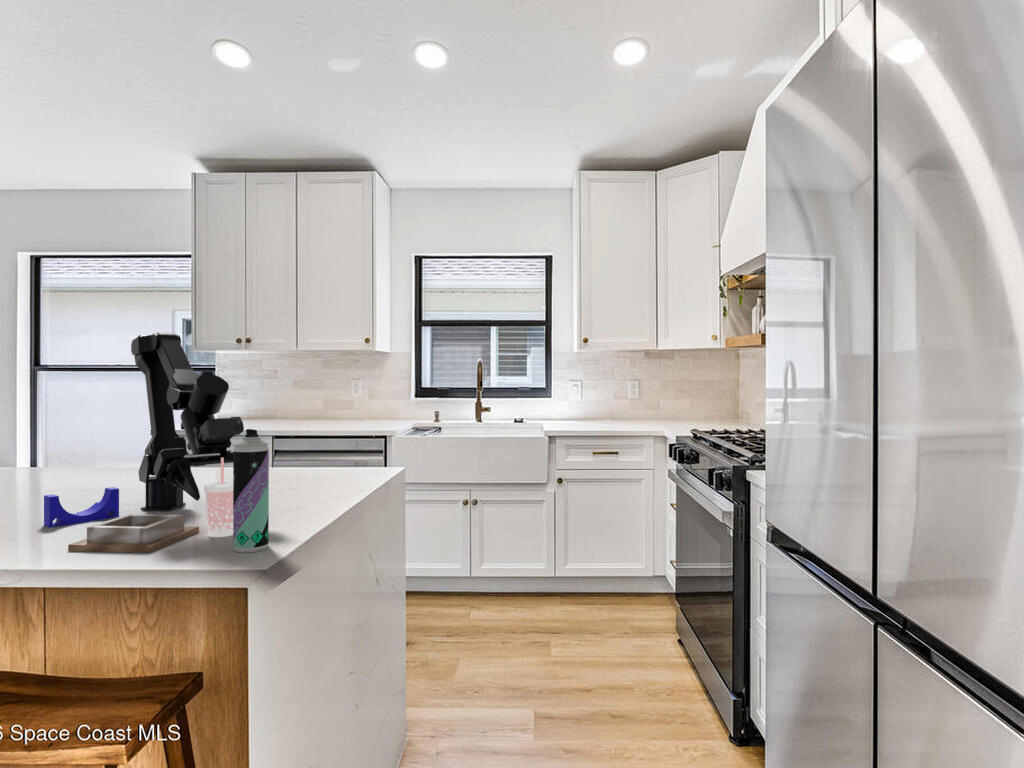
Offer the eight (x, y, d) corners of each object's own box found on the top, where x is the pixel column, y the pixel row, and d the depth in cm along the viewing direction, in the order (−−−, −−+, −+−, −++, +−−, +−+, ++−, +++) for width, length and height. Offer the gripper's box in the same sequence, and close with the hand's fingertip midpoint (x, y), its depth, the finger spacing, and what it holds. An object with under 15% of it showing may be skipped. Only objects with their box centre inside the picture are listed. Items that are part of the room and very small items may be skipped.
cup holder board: (68, 550, 102) (68, 529, 102) (126, 530, 116) (126, 511, 116) (149, 552, 101) (149, 531, 101) (199, 531, 115) (199, 513, 115)
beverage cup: (245, 534, 113) (245, 457, 113) (209, 540, 109) (210, 460, 109) (233, 528, 118) (233, 454, 118) (198, 533, 114) (199, 457, 113)
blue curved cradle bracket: (109, 514, 130) (110, 486, 130) (118, 517, 128) (119, 488, 128) (41, 525, 121) (41, 494, 121) (49, 528, 118) (49, 497, 118)
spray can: (225, 551, 102) (225, 429, 102) (248, 542, 107) (249, 427, 107) (253, 553, 100) (253, 430, 100) (275, 545, 106) (275, 428, 106)
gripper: (159, 404, 109) (180, 472, 102) (262, 401, 123) (288, 462, 115) (145, 445, 115) (164, 513, 107) (246, 438, 128) (269, 499, 121)
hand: (225, 495), depth 112 cm, fingers open, 9 cm apart
